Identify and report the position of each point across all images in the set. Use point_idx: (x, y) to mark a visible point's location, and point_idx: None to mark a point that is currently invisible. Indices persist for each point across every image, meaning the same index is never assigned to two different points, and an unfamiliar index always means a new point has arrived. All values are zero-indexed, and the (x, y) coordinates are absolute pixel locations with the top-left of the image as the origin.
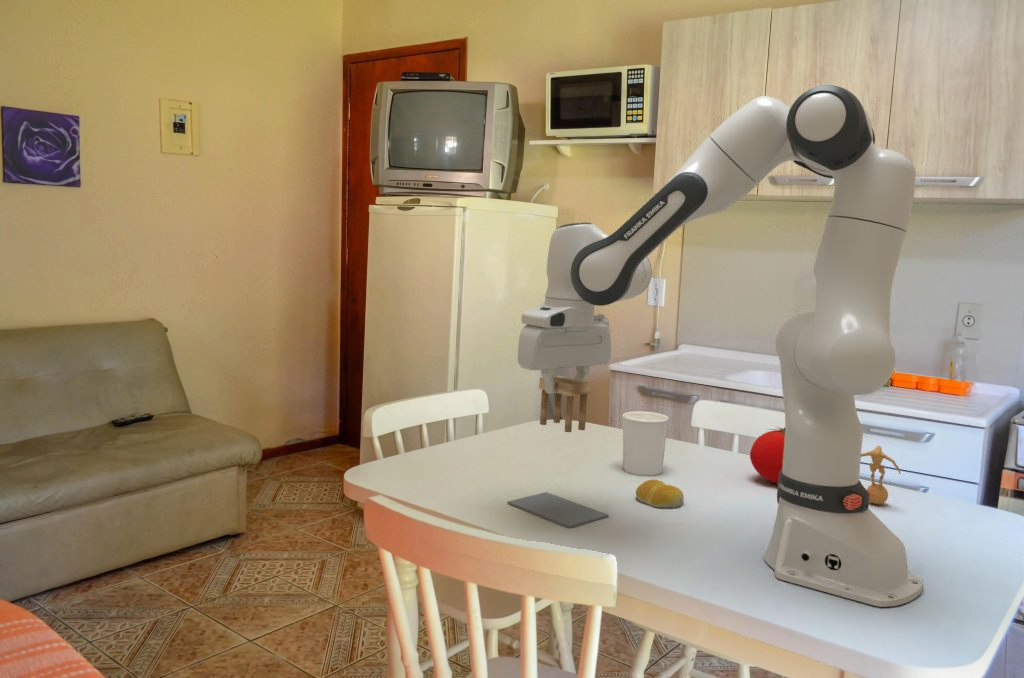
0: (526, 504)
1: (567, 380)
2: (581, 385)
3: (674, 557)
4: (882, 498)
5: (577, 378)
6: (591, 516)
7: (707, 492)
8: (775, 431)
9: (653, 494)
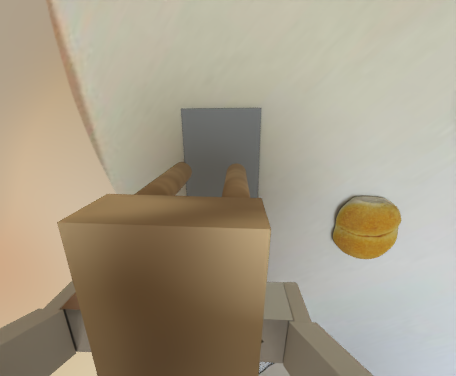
0: (196, 135)
1: (181, 359)
2: None
3: None
4: None
5: (294, 349)
6: None
7: (449, 238)
8: None
9: (343, 237)
